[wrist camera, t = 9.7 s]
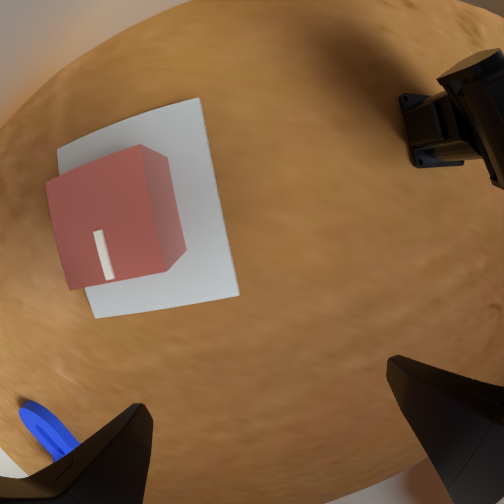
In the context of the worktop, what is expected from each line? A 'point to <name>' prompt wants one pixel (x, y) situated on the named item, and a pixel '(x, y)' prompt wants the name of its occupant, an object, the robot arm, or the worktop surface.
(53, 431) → the bracket
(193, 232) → the peg base plate
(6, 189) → the worktop surface
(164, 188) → the pink slotted box
